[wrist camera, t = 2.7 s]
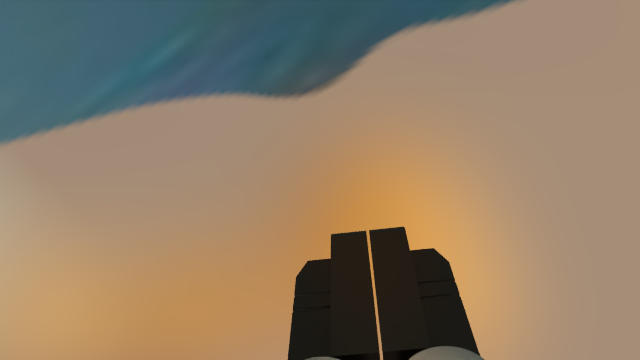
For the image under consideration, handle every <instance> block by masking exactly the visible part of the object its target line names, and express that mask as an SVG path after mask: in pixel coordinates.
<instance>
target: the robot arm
mask: <svg viewBox="0 0 640 360" xmlns="http://www.w3.org/2000/svg"><path fill="white" fill-rule="evenodd" d="M369 233H370V241H371V252H372V261H373V270H374V279H375V288H376V296H377V306H378V315H379V324H380V333H381V342H382V351H383V360H484V359H483V358H482V357H481V356H480V354H479V352H478V349H477V346H476V343H475V339H474V337H473V333H472V330H471V327H470V324H469V321H468V319H467V315H466V312H465V309H464V306H463V303H462V300H461V297H460V296H459V291H458V288H457V285H456V283H455V279H454V276H453V273H452V270H451V267H450V264H449V262H448V261H447V260H446V259H445V258H444V257H443V256H442V255H440V254H439V253H438V252H437V251H436V250H435V249H433V248H432V249H421V250H411V251H410V249H409V245H408V240H407V236H406V231H405V228H404V227H396V228H387V229H377V230H369ZM288 360H380V354H379V345H378V335H377V325H376V316H375V307H374V297H373V288H372V280H371V270H370V262H369V253H368V245H367V235H366V231H359V232H349V233H339V234H332V235H331V259H323V260H312V261H307V263H306V264H305V266H304V267H303V268H302V270H301V271H300V272H299V274H298V275H297V277H296V284H295V298H294V304H293V313H292V323H291V333H290V344H289V352H288Z"/></svg>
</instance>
